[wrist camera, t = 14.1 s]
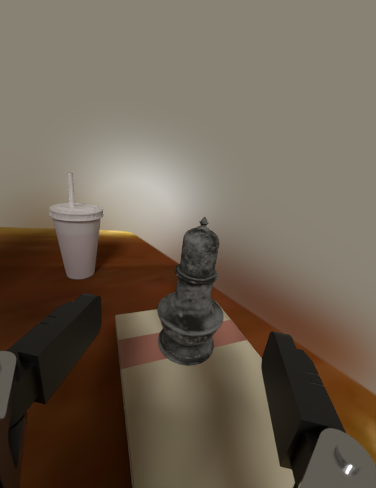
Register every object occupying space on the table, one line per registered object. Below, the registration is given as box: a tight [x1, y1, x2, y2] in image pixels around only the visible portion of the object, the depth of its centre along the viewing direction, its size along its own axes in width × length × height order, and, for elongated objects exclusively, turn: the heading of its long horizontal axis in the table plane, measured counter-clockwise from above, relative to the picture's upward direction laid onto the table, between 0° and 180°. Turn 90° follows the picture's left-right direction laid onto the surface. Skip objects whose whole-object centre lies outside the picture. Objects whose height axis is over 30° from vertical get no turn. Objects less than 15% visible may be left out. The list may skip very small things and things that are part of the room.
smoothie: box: [49, 173, 103, 279], centre depth 29 cm, size 6×6×14 cm
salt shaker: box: [157, 217, 224, 366], centre depth 18 cm, size 6×6×12 cm
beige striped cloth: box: [115, 302, 295, 488], centre depth 17 cm, size 12×18×1 cm, turn 21°
